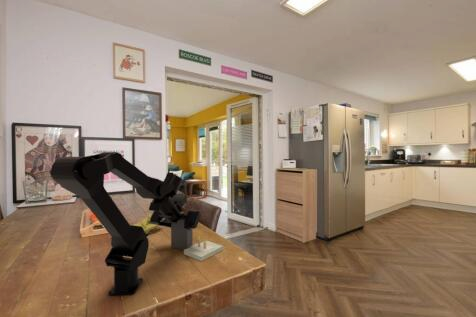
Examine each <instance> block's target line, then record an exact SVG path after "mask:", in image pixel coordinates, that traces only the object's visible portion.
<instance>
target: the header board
mask: <svg viewBox="0 0 476 317" xmlns="http://www.w3.org/2000/svg"><path fill="white" fill-rule="evenodd" d="M222 251H224V245H222V244H219V243H215V242H212V241H209V240H203V241H202V242H201V238H197V243H195V244H193V245H192V246H190V248H187V249H183V255H185V256H188V257H190V258H192V259H195V260H196V261H200V262H204V261H205V260H207V259H208V258H210V257H212V256H214V255H216V254H218V253H220V252H222Z"/></svg>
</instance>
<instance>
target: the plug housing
mask: <svg viewBox="0 0 476 317" xmlns="http://www.w3.org/2000/svg"><path fill="white" fill-rule="evenodd" d="M184 221H185V220H178V222H177V223H171V228H170V240H171V241H170V247H171V248H172V249H173V248H174V249H179V250H181V249H182V250H185V249H187V248H190V246H192V245H194V244H193V242H194V240H193V233H194V232H193V229H192V230H188V229H185V228H184Z"/></svg>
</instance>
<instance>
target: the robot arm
mask: <svg viewBox="0 0 476 317" xmlns="http://www.w3.org/2000/svg"><path fill="white" fill-rule="evenodd" d="M50 168H51V169H50V171H49V175H50V177H51V178H52V180H53V181H54V182H56V183H57V184H58V185H60V186H61V187H62V188H63V189H65V190H66V191H68V192H70V193H71V194H73V195H75V196H78V197H79V198H80V199H81V200H82V201H83V203H84V204H85V205H86V206H87V208H88V209H89V210H90V212H91V213H92V214H93V215H94V216H95V218H96V219H97V220H98V222H99V223H100V224H101V225H102V227H103V228H104V229H105V230H106V232H108V234H109V235H110V237H111V239H110V246H111V249H110V251H109V253H108V254H107V256H106V257H105V259H104V262H105V266H107V267H112V268H113V280H114V281H113V286H112V287H111V289H110V290H109V291H108V293H107V294H108V296H118V295H120V296H121V295H135V293H136V292H137V290H138V288H139V287H140V285H141V284H142V282H143V281H144V279H143V278H141V277H139V268H140V267H142V266H143V265H144V264H145V263H146V260H147V256H148V251H149V246H150V244H149V243H150V242H149V238H148V236H149V234H148V233H147V234H146V233H145V231H144V229H143V228H142V226H134V224H130V223H129V222H128V220H127V218H126V217H125V216H124V215H123V213H122V211H121V210H120V208H119V207H118V205H117V204H116V203H115V201H114V200H113V198H112V197H111V195H110V194H109V193H108V191H107V190H106V188H105V186H104V184H105V183H104V182H105V175H107V174H109V173H111V174H113V175H114V176H116V177H118V178H119V179H121V180H122V181H123V182H125V183H127V184H128V185H130V186H132V187H133V188H135V193H136V194H138V195H139V196H140V197H141V198H142V199H145V200H146V199H148V200H149V199H150V200H151V202H150V203H149V207H148V210H149V211H152V213H153V214H152V213H151V214H152V216H151V218H150V222H151V223H152V224H154V225H158V227H160V226H161V227H165V228H170V229H171V223H177V222H178V220H185V221H184V228H185V229H188V230H192V231H193V230H194V229H196V228H197V227H198V224H199V222H200V219H201V216H202V214H201V212H200V210H197V209H196V210H195V209H190V210H188V211H187V213H186V212H185V213H184V210H185V208H184V207H185V206H186V204H187V203H188V198H187V195H186V194H185V193H178V192H179V189H180V187H181V185H182V183H183V178H182V177H181V176H178V175H177V174H175V173H174V172H170V171H169V172H166V175H165V178H164V179H163V180H161V179H158V178H156V177H153V176H152V177H151V176H149V175H147V174H146V173H144V172H143V171H142V170H141V169H139V168H138V167H136V166H135V165H134V164H133V163H131V162H130V161H128V160H127V158H124V156H123V154H122V153H120V152H117V151H103V152H100V153H97V154H91V155H87V156H63V157H62V156H61V157H59V158H57V159H56V160H55V161H54V162H53V164H52V165H51V167H50Z"/></svg>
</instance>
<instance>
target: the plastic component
mask: <svg viewBox="0 0 476 317" xmlns="http://www.w3.org/2000/svg"><path fill="white" fill-rule="evenodd" d="M152 214H153V212H152V213H151V214H150V215H149V216H147V217H145V218H143V219H142V220H141V221H140V222H138V223H135V224H133V225H134V226H142V228H143V229H144V231H145V233H146V234H147V235H148V234H150V231H152V230H154V229H156V228H157V227H159V225H154V224H152V223H151V222H150V218H151V216H152Z"/></svg>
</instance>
